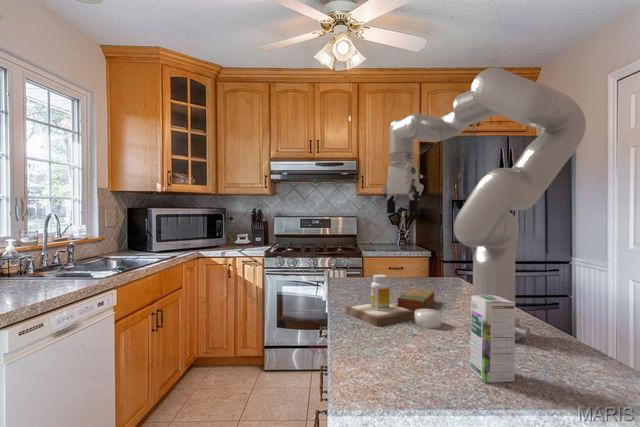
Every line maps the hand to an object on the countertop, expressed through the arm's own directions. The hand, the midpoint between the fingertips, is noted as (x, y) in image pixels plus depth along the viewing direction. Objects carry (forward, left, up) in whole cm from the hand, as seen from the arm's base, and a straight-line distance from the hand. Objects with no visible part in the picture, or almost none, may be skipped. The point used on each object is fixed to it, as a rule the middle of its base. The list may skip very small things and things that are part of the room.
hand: (401, 213), depth 115 cm
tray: (-3, +12, -30) cm, 33 cm away
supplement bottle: (-3, +12, -28) cm, 31 cm away
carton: (0, -6, -31) cm, 31 cm away
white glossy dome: (-16, +6, -30) cm, 35 cm away
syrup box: (-44, +20, -31) cm, 57 cm away
